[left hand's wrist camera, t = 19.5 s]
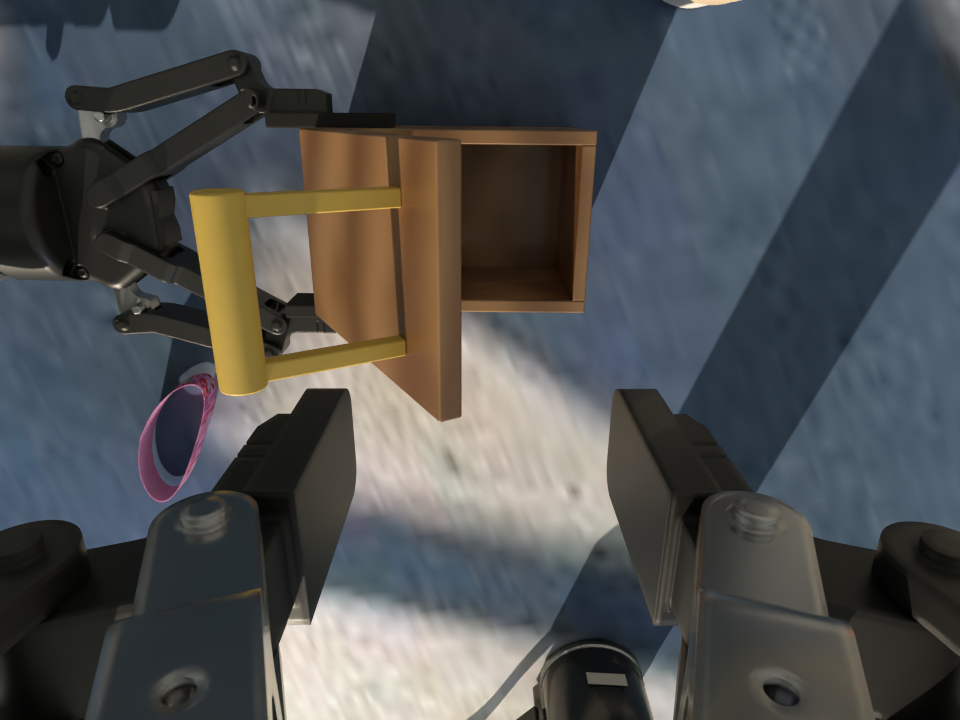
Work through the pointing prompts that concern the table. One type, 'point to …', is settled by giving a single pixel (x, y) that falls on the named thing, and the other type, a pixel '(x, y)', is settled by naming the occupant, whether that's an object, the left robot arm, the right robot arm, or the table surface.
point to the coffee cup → (696, 3)
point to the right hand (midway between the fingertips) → (395, 218)
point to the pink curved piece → (145, 456)
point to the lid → (349, 264)
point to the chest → (521, 214)
